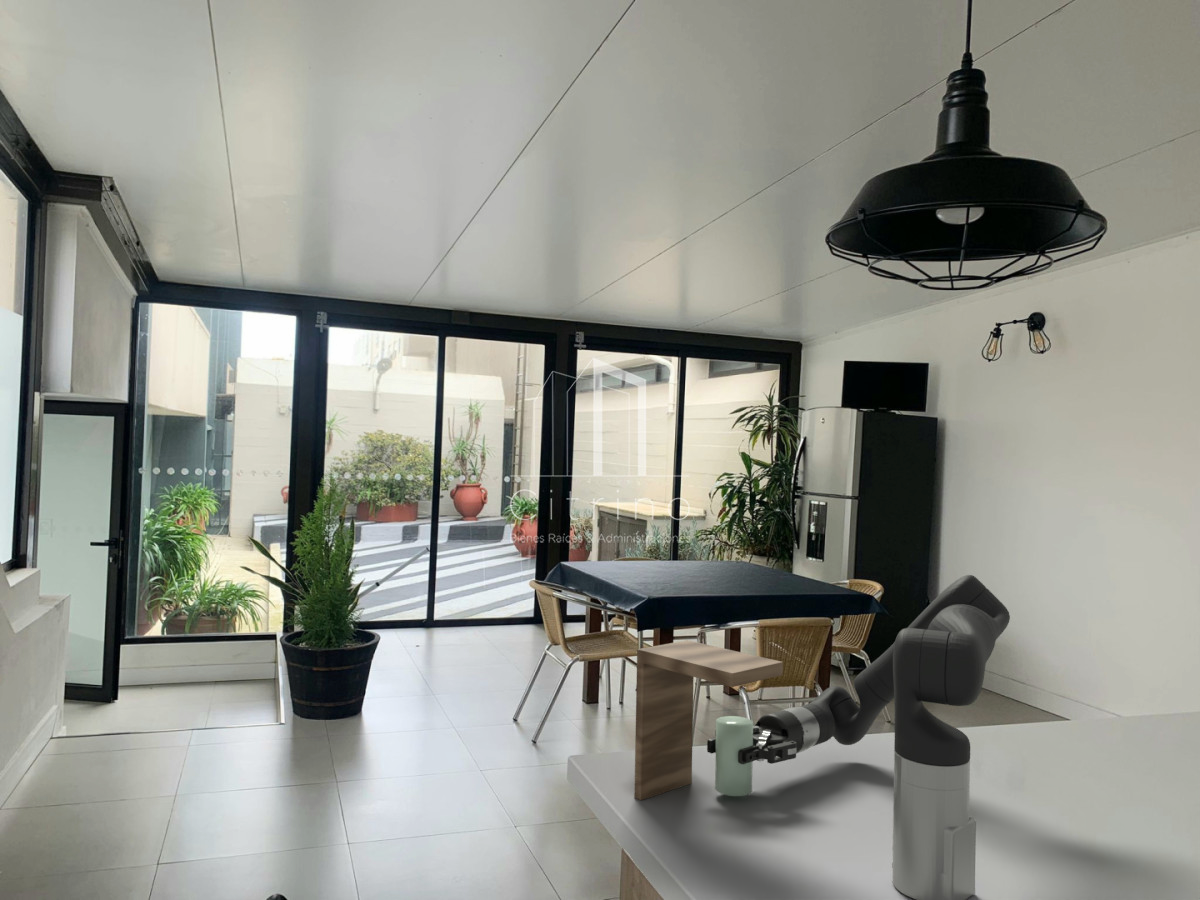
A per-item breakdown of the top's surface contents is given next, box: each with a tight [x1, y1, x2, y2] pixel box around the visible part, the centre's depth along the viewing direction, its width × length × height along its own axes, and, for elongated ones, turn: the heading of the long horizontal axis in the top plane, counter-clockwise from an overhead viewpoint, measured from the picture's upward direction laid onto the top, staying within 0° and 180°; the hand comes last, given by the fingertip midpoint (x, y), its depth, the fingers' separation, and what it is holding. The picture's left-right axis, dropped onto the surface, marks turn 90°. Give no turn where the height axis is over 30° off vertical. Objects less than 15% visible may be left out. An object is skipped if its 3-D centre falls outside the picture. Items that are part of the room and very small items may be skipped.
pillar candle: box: [714, 715, 754, 797], centre depth 143 cm, size 6×6×11 cm
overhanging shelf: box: [633, 639, 784, 801], centre depth 139 cm, size 20×12×24 cm, turn 41°
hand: (724, 752), depth 142 cm, fingers closed on pillar candle, 6 cm apart
